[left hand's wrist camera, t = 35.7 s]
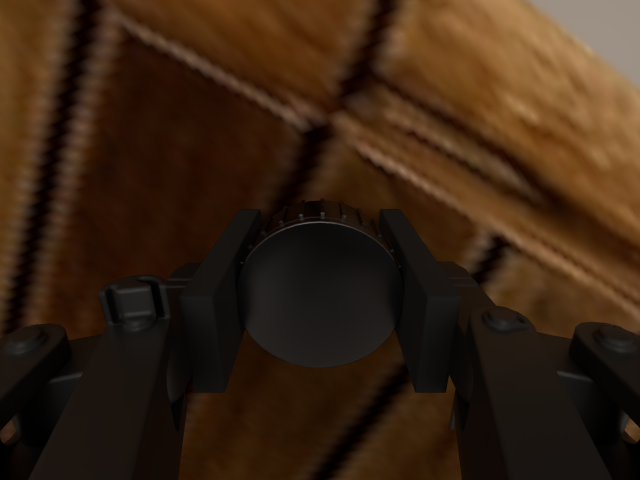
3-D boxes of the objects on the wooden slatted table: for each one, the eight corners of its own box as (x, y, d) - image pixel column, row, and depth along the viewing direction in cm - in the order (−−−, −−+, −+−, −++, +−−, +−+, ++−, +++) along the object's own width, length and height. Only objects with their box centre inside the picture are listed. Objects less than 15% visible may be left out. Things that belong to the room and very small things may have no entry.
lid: (356, 347, 13) (362, 389, 11) (227, 303, 12) (210, 339, 11) (420, 232, 12) (440, 258, 10) (275, 173, 11) (266, 189, 9)
